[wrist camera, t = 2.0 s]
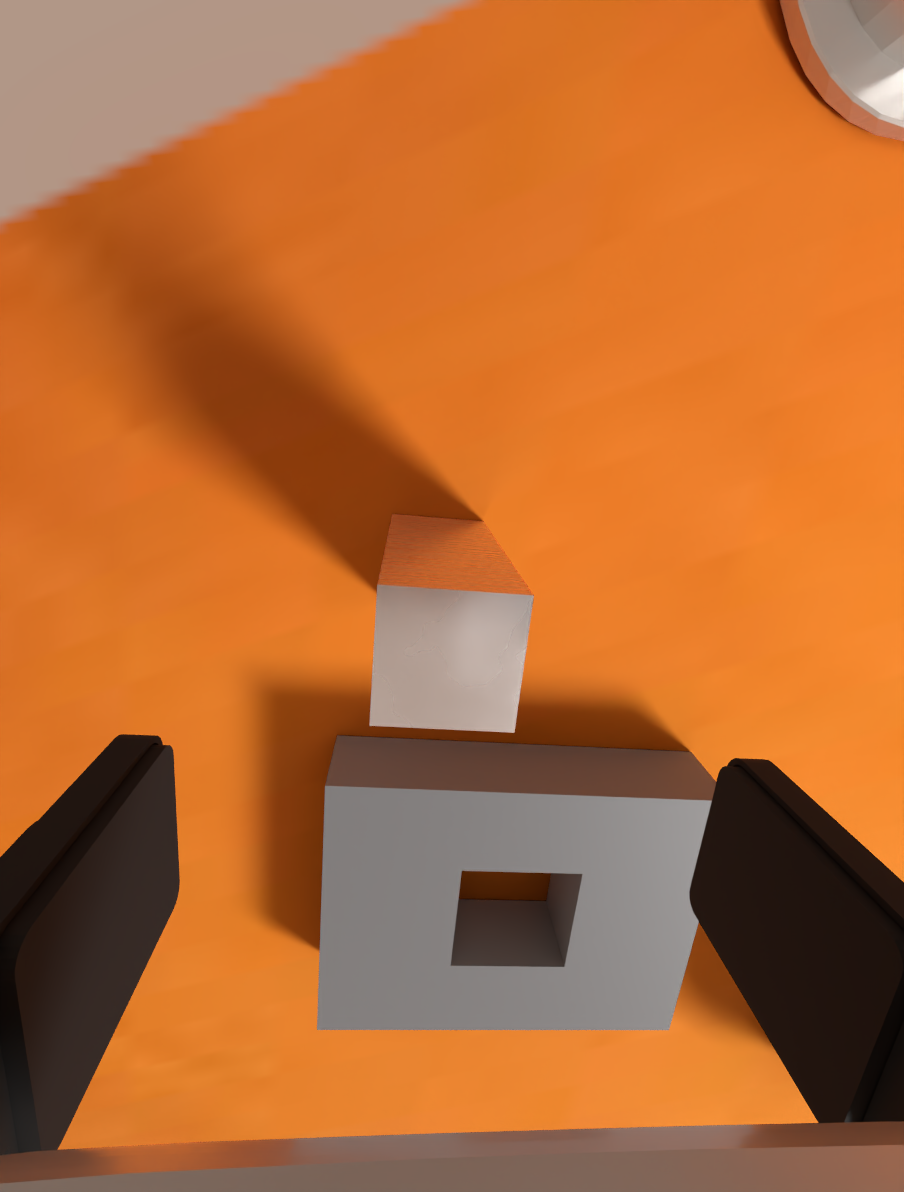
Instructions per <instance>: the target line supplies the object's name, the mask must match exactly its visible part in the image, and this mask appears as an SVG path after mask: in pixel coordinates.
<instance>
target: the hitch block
mask: <svg viewBox="0 0 904 1192" xmlns="http://www.w3.org/2000/svg"><path fill="white" fill-rule="evenodd" d="M715 786H716V781H715V780H714V779H713V778H712V777H711V775H710V774H709V773H708V772H707V771H706V769H705V768H704V767H703V766H702V765H701V763H700V762H699V761H698V760H697V759H696V757H695V756H694V755H693V754H692V753H691V752H686V751H664V750H643V749H621V748H599V747H578V746H556V745H535V744H513V743H492V742H470V741H449V740H427V739H405V738H384V737H362V736H341V735H337V738H336V742H335V746H334V750H333V754H332V759H331V763H330V767H329V771H328V776H327V780H326V784H325V803H324V834H323V865H322V896H321V927H320V958H319V988H318V1019H317V1030H669V1028H670V1024H671V1021H672V1017H673V1013H674V1010H675V1006H676V1003H677V999H678V995H679V992H680V988H681V984H682V981H683V977H684V974H685V970H686V966H687V963H688V959H689V956H690V952H691V948H692V945H693V941H694V938H695V934H696V930H697V927H698V923H699V921H698V919H697V918H696V916H695V914H694V912H693V910H692V907H691V904H690V897H689V891H690V886H691V882H692V878H693V874H694V870H695V866H696V862H697V858H698V854H699V850H700V846H701V842H702V838H703V834H704V830H705V826H706V822H707V818H708V814H709V810H710V806H711V802H712V798H713V794H714V790H715ZM462 871H487V872H526V873H551V877H550V882H549V888H548V894H547V900H546V901H523V900H476V899H459V890H460V882H461V874H462Z"/></svg>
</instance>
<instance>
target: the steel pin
mask: <svg viewBox="0 0 904 1192" xmlns="http://www.w3.org/2000/svg"><path fill="white" fill-rule="evenodd" d="M533 597H534V595H533V594H532V592H531V591H530V589H529V588H528V586H527V585H526V583H525V582H524V580H523V579H522V577H521V576H520V574H519V573H518V572H517V570H516V569H515V567H514V566H513V564H512V563H511V561H510V560H509V558H508V557H507V555H506V554H505V552H504V551H503V549H502V548H501V546H500V545H499V543H498V542H497V541H496V539H495V538H494V536H493V535H492V533H491V532H490V530H489V529H488V527H487V526H486V524H485V523H484V521H475V520H462V519H450V518H438V517H426V516H413V515H401V514H392V518H391V522H390V527H389V532H388V537H387V541H386V546H385V551H384V556H383V560H382V565H381V570H380V575H379V579H378V584H377V601H376V618H375V636H374V654H373V671H372V689H371V706H370V724H369V726H386V727H406V728H427V729H448V730H469V731H489V732H510V733H514V732H515V725H516V718H517V711H518V704H519V697H520V690H521V682H522V675H523V668H524V661H525V654H526V647H527V640H528V633H529V626H530V619H531V611H532V604H533Z"/></svg>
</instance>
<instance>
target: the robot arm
mask: <svg viewBox="0 0 904 1192" xmlns="http://www.w3.org/2000/svg"><path fill="white" fill-rule="evenodd" d="M780 4H781V8H782V12H783V16H784V20H785V24H786V27H787V31H788V35H789V39H790V42H791V44H792V47H793V49H794V51H795V53H796V55H797V58H798V60H799V62H800V64H801V66H802V68H803V71H804V73H805V75H806V76H807V77H808V79H809V80H810V82H811V83H812V84H813V86H814V87H815V88H816V90H817V91H818V92H819V94H820V95H821V97H822V98H823V99H824V101H825V102H826V103H828V104H829V105H830V106H831V107H832V108H833V109H835V110H836V111H837V112H838V113H839V114H840V115H842V116H843V117H844V118H845V119H846V120H847V121H848V122H850V123H852V124H854V125H856V126H858V127H860V128H862V129H864V130H866V131H868V132H870V133H872V134H874V135H878V136H883V137H887V138H892V139H896V140H901V141H904V0H780ZM179 882H180V879H179V859H178V838H177V817H176V797H175V776H174V755H173V749H172V747H171V746H170V745H163V744H162V741H161V738H160V737H159V736H150V735H124V734H123V735H119V736H117V737H116V738H115V739H114V740H113V741H112V742H111V743H110V744H109V745H108V746H107V747H106V748H105V749H104V751H103V752H102V753H101V754H100V755H99V756H98V757H97V758H96V759H95V760H94V761H93V762H92V763H91V764H90V766H89V767H88V768H87V769H86V770H85V771H84V772H83V773H82V774H81V775H80V776H79V777H78V778H77V779H76V781H75V782H74V783H73V784H72V785H71V786H70V787H69V788H68V789H67V790H66V791H65V792H64V793H63V794H62V796H61V797H60V798H59V799H58V800H57V801H56V802H55V803H54V804H53V805H52V806H51V807H50V808H49V809H48V811H47V812H46V813H45V814H44V815H43V816H42V817H41V818H40V819H39V820H38V821H36V822H35V823H34V824H32V825H31V826H30V827H29V828H28V829H27V830H26V831H25V832H24V833H23V834H22V835H21V836H20V837H19V838H18V839H17V840H16V841H15V842H14V843H13V844H12V846H11V847H10V848H9V849H8V850H7V851H6V852H5V853H4V854H3V855H2V856H1V857H0V1192H904V882H903V881H901V880H900V879H899V878H898V877H897V876H896V875H895V874H894V873H893V872H892V871H891V870H889V869H888V868H887V867H886V866H885V865H884V864H883V863H882V862H881V861H880V860H878V859H877V858H876V857H875V856H874V855H873V854H872V853H871V852H870V851H869V850H867V849H866V848H865V847H864V846H863V845H862V844H861V843H860V842H859V841H858V840H857V839H855V838H854V837H853V836H852V835H851V834H850V833H849V832H848V831H847V830H846V829H844V828H843V827H842V826H841V825H840V824H839V823H838V822H837V821H836V820H835V819H834V818H832V817H831V816H830V815H829V814H828V813H827V812H826V811H825V810H824V809H823V808H821V807H820V806H819V805H818V804H817V803H816V802H815V801H814V800H813V799H812V798H810V797H809V796H808V795H807V794H806V793H805V792H804V791H803V790H802V789H801V788H800V787H798V786H797V785H796V784H795V783H794V782H793V781H792V780H791V779H790V778H789V777H787V776H786V775H785V774H784V773H783V772H782V771H781V770H780V769H779V768H778V767H777V766H775V765H774V764H773V763H772V762H770V761H769V760H764V759H739V758H735V759H733V760H731V761H730V762H729V763H728V765H727V766H725V767H722V769H721V770H720V772H719V774H718V778H717V782H716V786H715V790H714V794H713V798H712V802H711V806H710V810H709V814H708V818H707V822H706V826H705V830H704V834H703V838H702V842H701V846H700V850H699V854H698V858H697V862H696V866H695V870H694V874H693V878H692V882H691V886H690V891H689V897H690V904H691V907H692V910H693V912H694V914H695V916H696V918H697V919H698V921H699V923H700V924H701V926H702V928H703V929H704V931H705V933H706V934H707V936H708V938H709V939H710V941H711V943H712V944H713V946H714V948H715V950H716V951H717V953H718V955H719V956H720V958H721V960H722V961H723V963H724V965H725V966H726V968H727V970H728V971H729V973H730V975H731V976H732V978H733V980H734V981H735V983H736V985H737V987H738V988H739V990H740V992H741V993H742V995H743V997H744V998H745V1000H746V1002H747V1003H748V1005H749V1007H750V1008H751V1010H752V1012H753V1013H754V1015H755V1017H756V1018H757V1020H758V1022H759V1024H760V1025H761V1027H762V1029H763V1030H764V1032H765V1034H766V1035H767V1037H768V1039H769V1040H770V1042H771V1044H772V1045H773V1047H774V1049H775V1050H776V1052H777V1054H778V1055H779V1057H780V1059H781V1060H782V1062H783V1064H784V1066H785V1067H786V1069H787V1071H788V1072H789V1074H790V1076H791V1077H792V1079H793V1081H794V1082H795V1084H796V1086H797V1087H798V1089H799V1091H800V1092H801V1094H802V1096H803V1097H804V1099H805V1101H806V1103H807V1104H808V1106H809V1108H810V1109H811V1111H812V1113H813V1114H814V1116H815V1118H816V1119H817V1121H818V1122H819V1123H802V1124H758V1125H713V1126H674V1127H638V1128H603V1129H568V1130H535V1131H502V1132H470V1133H437V1134H409V1135H381V1136H353V1137H325V1138H298V1139H270V1140H242V1141H215V1142H192V1143H174V1144H156V1145H138V1146H120V1147H102V1148H84V1149H67V1150H57V1149H58V1147H59V1145H60V1144H61V1142H62V1140H63V1138H64V1136H65V1133H66V1131H67V1129H68V1127H69V1125H70V1123H71V1121H72V1119H73V1117H74V1115H75V1113H76V1111H77V1109H78V1106H79V1104H80V1102H81V1100H82V1098H83V1096H84V1094H85V1092H86V1090H87V1088H88V1086H89V1084H90V1081H91V1079H92V1077H93V1075H94V1073H95V1071H96V1069H97V1067H98V1065H99V1063H100V1061H101V1059H102V1057H103V1054H104V1052H105V1050H106V1048H107V1046H108V1044H109V1042H110V1040H111V1038H112V1036H113V1034H114V1032H115V1029H116V1027H117V1025H118V1023H119V1021H120V1019H121V1017H122V1015H123V1013H124V1011H125V1009H126V1007H127V1005H128V1002H129V1000H130V998H131V996H132V994H133V992H134V990H135V988H136V986H137V984H138V982H139V980H140V977H141V975H142V973H143V971H144V969H145V967H146V965H147V963H148V961H149V959H150V957H151V955H152V953H153V950H154V948H155V946H156V944H157V942H158V940H159V938H160V936H161V934H162V932H163V930H164V928H165V926H166V923H167V921H168V919H169V917H170V915H171V913H172V911H173V909H174V906H175V904H176V901H177V897H178V892H179Z"/></svg>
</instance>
